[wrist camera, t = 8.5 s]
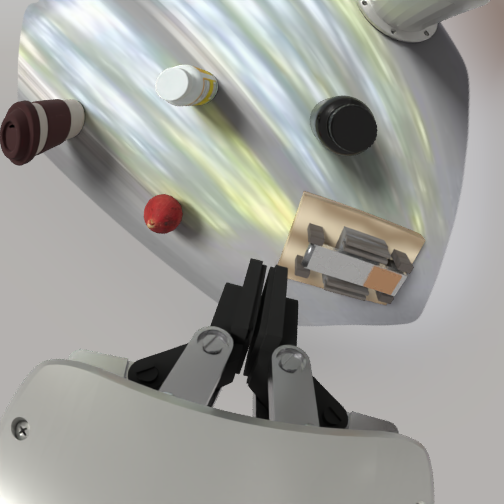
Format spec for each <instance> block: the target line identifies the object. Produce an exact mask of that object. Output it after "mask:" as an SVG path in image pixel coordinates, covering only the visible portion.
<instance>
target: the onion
mask: <svg viewBox="0 0 504 504" xmlns="http://www.w3.org/2000/svg"><path fill="white" fill-rule="evenodd" d="M182 215H183V213H182V208H181V205H180V204H179V202H178V201H177V200H176V199H175V198H173V197H172V196H169V195H166V194H162V195H157V196H155V197H153V198H152V199H150V200H149V201H148V203H147V205H146V207H145V209H144V220H145V223H146V225H147V226H148V228H149V229H150V230H152V231H153V232H156V233H162V234H165V233H168V232H171V231H173V230H174V229H175V228H176V227H177V226H178V225H179V224H180V222H181V219H182Z"/></svg>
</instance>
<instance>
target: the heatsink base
mask: <svg viewBox="0 0 504 504" xmlns="http://www.w3.org/2000/svg"><path fill="white" fill-rule="evenodd" d="M424 242H425V239H424V238H423V237H422V235H421V234H419V233H416V232H414V231H411V230H409V229H407V228H404V227H402V226H399V225H397V224H395V223H392V222H390V221H387V220H384V219H382V218H379V217H377V216H374V215H372V214H369V213H366V212H364V211H361V210H358V209H355V208H353V207H350V206H347V205H344V204H342V203H339V202H336V201H333V200H330V199H327V198H324V197H321V196H318V195H315V194H312V193H309V192H306V191H304V192H303V195H302V198H301V201H300V204H299V207H298V210H297V212H296V215H295V218H294V221H293V224H292V227H291V229H290V232H289V235H288V238H287V240H286V243H285V246H284V249H283V251H282V254H281V257H280V260H279V262H278V265H279V266H283V267H287V268H288V279H292V280H295V281H299V282H303V283H306V284H310V285H313V286H317V287H320V288H324V290H327V291H330V292H334V293H337V294H341V295H345V296H348V297H352V298H356V299H360V300H363V301H365V300H368V301H372V302H375V303H379V304H383V305H386V304H387V303H388V304H391V302H392V301H393V299H394V297H393V296H392V295H389V294H386V293H383V292H379V291H376V290H373V289H370V288H367V287H364V286H360V285H357V284H354V283H351V282H348V281H344V280H341V279H338V278H335V277H332V276H329V275H325V274H322V273H319V272H316V271H313V270H310V269H306V268H304V267H303V266H302V265H301V261H302V259H303V257H304V254H305V252H306V249H307V247H308V245H309V243H313V244H316V245H319V246H323V244H325V245H328V246H331V247H334V248H337V249H340V250H343V251H346V252H349V253H352V254H354V255H357V256H360V257H363V258H366V259H369V260H372V261H375V262H377V263H380V264H383V265H386V266H389V267H391V268H394V269H397V270H400V271H403V272H405V273H409V274H410V273H411V271H412V269H413V268H414V267H413V265H412V263H413V261H414V260H415V258H416V256H417V255H418V253H419V251H420V249H421V247H422V246H423V244H424Z"/></svg>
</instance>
